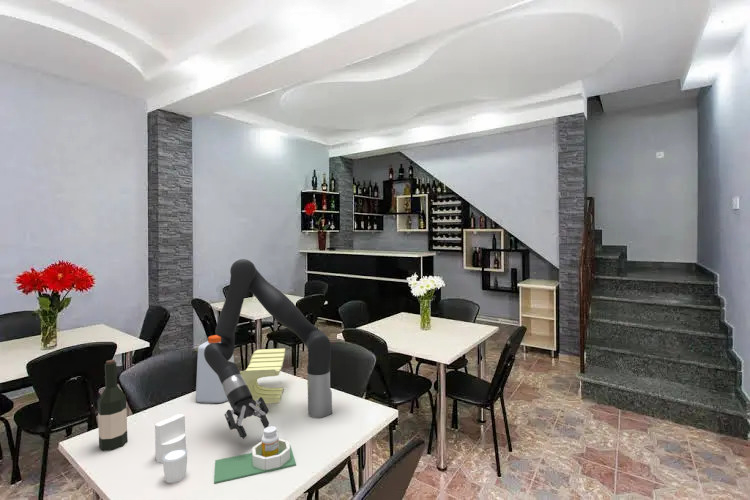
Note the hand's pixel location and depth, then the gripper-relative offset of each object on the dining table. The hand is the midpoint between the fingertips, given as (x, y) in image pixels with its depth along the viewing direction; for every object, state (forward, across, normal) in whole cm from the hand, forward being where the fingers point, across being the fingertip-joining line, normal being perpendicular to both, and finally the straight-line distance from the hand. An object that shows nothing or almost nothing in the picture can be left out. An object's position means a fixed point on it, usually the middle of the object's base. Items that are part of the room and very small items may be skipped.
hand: (256, 432), depth 129 cm
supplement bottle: (+10, 0, -1) cm, 10 cm away
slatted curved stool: (-20, +28, +30) cm, 46 cm away
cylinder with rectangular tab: (-10, -19, +20) cm, 29 cm away
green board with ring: (+9, -4, +1) cm, 10 cm away
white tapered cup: (-1, -23, +10) cm, 25 cm away
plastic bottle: (-33, +15, +43) cm, 56 cm away
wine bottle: (-26, -28, +36) cm, 53 cm away
